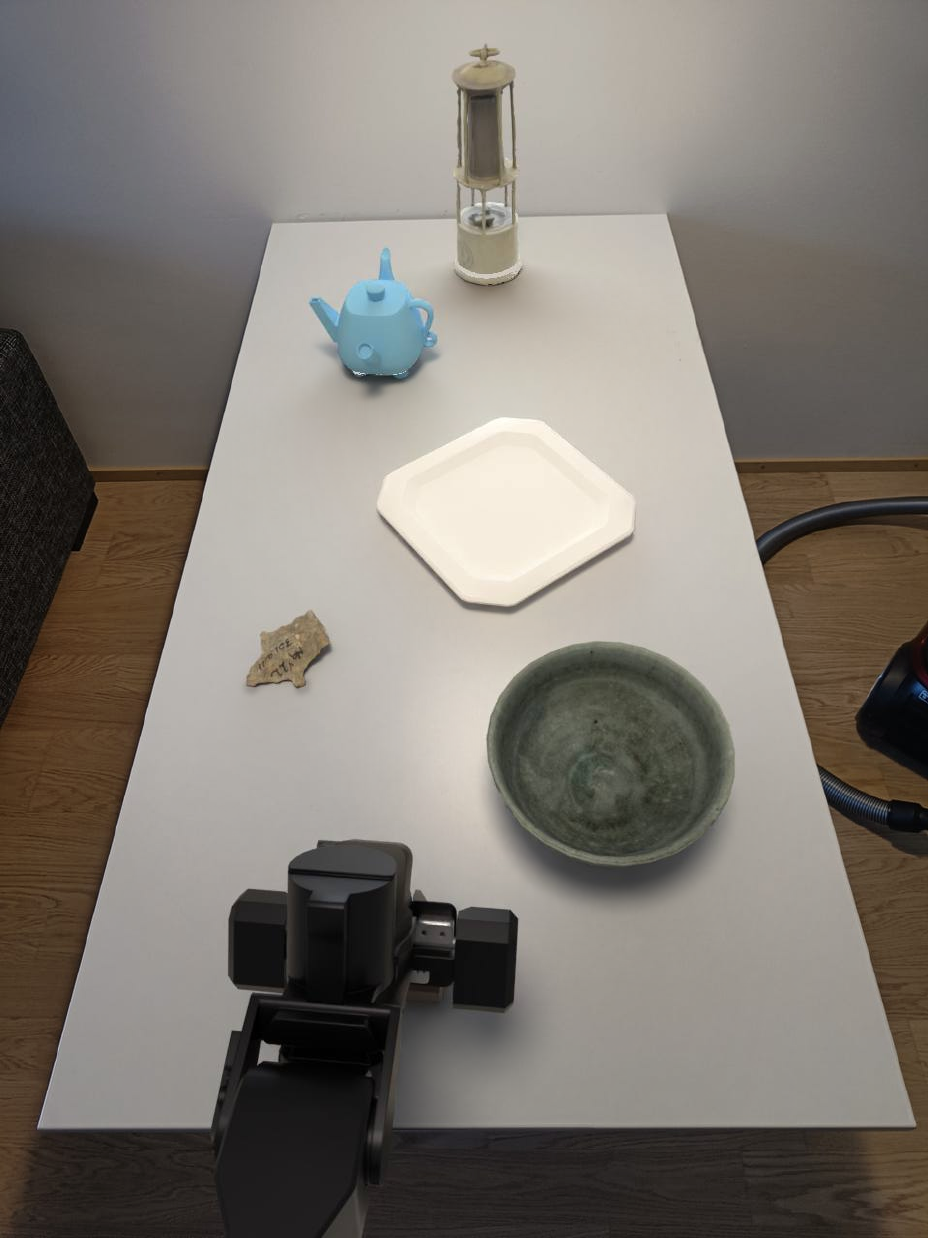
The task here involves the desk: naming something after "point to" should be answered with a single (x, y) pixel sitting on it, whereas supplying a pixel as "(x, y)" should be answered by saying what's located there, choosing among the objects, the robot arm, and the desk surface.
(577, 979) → the desk surface
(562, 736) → the bowl
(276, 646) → the artifact
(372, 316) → the teapot
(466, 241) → the lamp
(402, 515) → the plate
